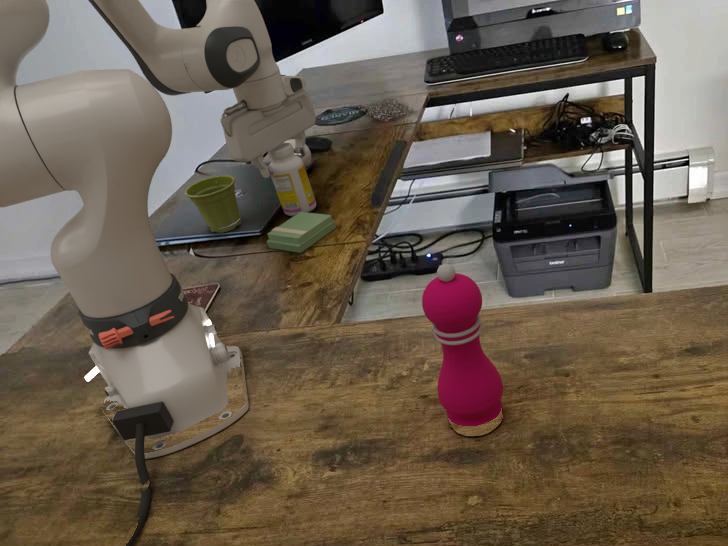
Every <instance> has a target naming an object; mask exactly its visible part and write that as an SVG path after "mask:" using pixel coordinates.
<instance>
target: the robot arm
mask: <svg viewBox="0 0 728 546" xmlns="http://www.w3.org/2000/svg"><path fill="white" fill-rule="evenodd" d="M205 2H206V4H205V5H206V9H205V14H204V16H203V17H202V19H201V20H200V21H199V23H197V24H196V26H195V27H194V26H193V27H187V28H176V29H175V28H169V27H166V26H163V25H161V24H159V23H158V22H156V21H155V20H154V19H153V18H152V16H151V15H150V13H149V12H148V10H146V8H145V6H144V5H143V4H142V3H141V2H140V0H88V3H90V4H91V6H92V7H93V8H94V9H95V10H96V12H97V13H98V14H99V15H100V17H101V18H102V19H103V20H104V22H105V23H106V24H107V25H108V26H109V28H110V29H111V30H112V31H113V32H114V34H115V35H116V36H117V37H118V39H119V40H120V41H121V43H122V44H124V46H125V47H126V49H128V51H129V53H130V54H131V55H132V57H133V58H134V60H135V61H136V63H137V65H138V67H139V70H140V71H141V72H142V74H143V76H144V77H145V78H144V77H143V76H141V75H140V74H138V73H136V72H135V71H133V70H131V69H127V68H125V69H124V68H123V69H122V68H121V69H120V68H119V69H118V68H117V69H116V68H115V69H113V68H112V69H89V70H80V71H76V72H71V73H67V74H61V75H58V76H55V77H49V78H45V79H42V80H37V81H33V82H29V83H24V84H20V85H19V84H17V76H18V71H19V68H20V66H21V64H22V63H23V60H24V59H25V58H26V57H27V56H28V55H29V54H30V53H31V52H32V51H33V50H34V49H36V47H37V46H38V45H40V43H41V42H42V41H43V40H44V39H45V36H46V35H47V31H48V28H49V25H50V16H51V15H50V9H49V5H48V3H47V0H0V209H1V208H8V207H11V206H15V205H18V204H22V203H26V202H30V201H34V200H37V199H40V198H44V197H47V196H51V195H55V194H58V193H62V192H66V191H69V192H70V191H71V192H72V191H75V192H77V193H78V195H79V196H80V198H81V200H82V203H83V206H82V207H81V208H80V209H79V211H78V212H77V213H75V214H74V215H73V216H72V217H71V218H70V219H69V220H68V221H67V222H66V223H65V224H64V225H63V226H62V227H61V228H60V229H59V230H58V232H57V233H56V234H55V236H54V237H53V240H52V242H51V246H50V259H51V264H52V266H53V267H54V269H55V270H56V273H57V274H58V276H59V278H60V279H61V281H62V282H63V284H64V286H65V287H66V290H68V292H69V294H70V296H71V297H72V299H73V301H74V302H75V304H76V306H77V308H78V311H77V313H78V316H79V318H80V320H81V324H82V325H83V327H84V329H85V331H86V333H88V334H89V336H90V338H91V340H92V342H93V343H92V345H91V347H90V350H89V351H88V355H89V357H90V358H91V360H92V362H93V363H94V365H95V367H93V368H92V369H91V370H90V371H89V372H88V373H87V374H86V375H85V376H84V379H85V381H86V382H90V381H92V379H93V378H95V377H96V375H97V374H99V373H100V375H101V377H102V379H103V380H104V381H105V383H106V385H107V386H106V387H104V393H105V394H106V397H105V398H104V399H103V400H104V403H105V401H106V400H107V401H109V400H110V402H111V401H113V403H111V404H109V405H108V406H107V407H106V410H110V409H113V408H115V407H116V406H117V405H118V403H119V404H123V406H124V408H126V409H123V410H118V411H116V413H115V415H114V417H113V419H112V422H111V421H110V419H109V418H108V417H107V415H106V414H105V413H104V411H103V410H102V408H101V407H100V409H101V410H102V411H101V412H102V413H103V414H104V416H105V417H106V418H107V420H108V421H109V423H110V424H111V426H112V427H113V428H114V430H115V431H116V432H117V434H118V435H119V436H120V438H121V439H122V441H123V442H124V443H125V444H126V446H127V447H128V448H129V450H130V451H131V453H132V454H133V455H134V459H135V467H136V470H137V475H138V477H139V481H140V485H141V484H142V485H144V484H145V483H147V481H148V480H149V477H150V474H149V471H148V467H147V463H146V460H149V459H154V458H159V457H162V456H166V455H169V454H172V453H175V452H178V451H180V450H183V449H185V448H188V447H190V446H193V445H195V444H197V443H199V442H201V441H203V440H206V439H208V438H209V437H212V436H214V435H215V434H217V433H220V432H221V431H223V430H224V429H226V428H227V427H229V426H231V425H232V424H234V423H235V422H236V421H238V420H239V419H240V418H241V417H242V416H244V414H246V412H248V410H249V407H250V405H249V396H248V395H249V394H248V388H247V380H246V379H247V378H246V374H245V364H244V357H243V356H244V355H243V352H242V350H241V349H240V347H239V346H236V345H226V344H225V343H223V342H221V340H220V338H219V336H218V335H217V334H218V330H217V327H216V325H215V324H214V323H212V321H211V319H210V318H209V316H208V315H207V312H206V310H205V308H204V307H201V306H198V305H196V304H195V305H194V304H192V303H190V302H189V301H188V298H187V296H186V294H185V291H184V287H183V286H182V284H181V283H180V282H179V280H178V279H177V277H176V276H175V275H174V274H173V273H172V272H170V270H169V268H168V266H167V264H166V262H165V259H164V256H163V255H162V253H161V250H160V248H159V245H158V243H157V240H156V237H155V235H154V232H153V229H152V226H151V223H150V218H149V207H148V201H149V194H150V187H151V184H152V181H153V178H154V175H155V173H156V171H157V169H158V168H159V166H160V164H161V163H162V161H163V160H164V159H165V158H166V156H167V154H168V151H169V150H170V147H171V143H172V138H173V124H172V122H173V121H172V118H171V114H170V111H169V108H168V106H167V104H166V102H165V100H164V98H163V97H162V95H161V94H160V93H162V94H164V95H166V96H174V97H175V96H180V95H185V94H191V93H203V92H204V93H205V92H214V91H228V90H232V91H233V94H234V96H235V100H236V103H234V105H232V106H228V107H226V108H225V109H224V110H223V113H222V114H221V117H220V124H221V127H222V129H223V130H222V131H223V135H224V139H225V143H226V147H227V149H228V150H227V151H228V153H229V156H230V158H231V159H232V160H234V161H235V162H239V163H249V162H251V164H252V165H253V166H255V167H256V168H257V169H258V170H259V173H260V176H261V177H262V178H264V179H269V178H271V176H272V175H273V171H272V167H271V166H269V165H267V164H266V163H265V162H263V161H264V160H265V158H264V154H265V153H268V151H269V150H271V149H272V148H274V147H276V146H278V145H280V144H281V143H284V142H285V141H287V140H290V139H295V148H294V153H295V156H298V157H300V158H302V157H304V156H305V155H306V151H305V148H304V146H305V144H306V138H307V134H306V132H305V131H306V130H309V129H310V128H312V127H314V126H316V121H317V115H316V111H315V108H314V104H313V101H312V99H311V96H310V94H309V92H308V90H306V89H305V88H306V86H307V85H306V81H305V78H304V76H301V75H300V76H299V75H286V74H282V73H281V70H280V68H279V67H280V66H278V64H277V62H276V60H275V57H274V55H273V49H272V48H273V47H272V45H273V44H272V42H271V37H270V35H269V32H268V28H267V26H266V24H265V20H264V18H263V15H262V13H261V11H260V9H259V7H258V5H257V3H256V1H255V0H205ZM159 92H160V93H159ZM231 352H232V353H231ZM240 357H241V359H240ZM240 362H241V365H242V373H243V382H244V390H245V399H246V403H245V405H244V406H243V407H242V408H241V409H240V410H239V411H238V412H237V413H236V414H234V415H233V416H232V417H230V416H231V414H232V412H231V411H225V412H222V413H221V414H220V415H219V417H218V418H219V419H226V418H228V417H230V418H229V419H227V420H226V421H224V422H223V423H221V424H219V425H218V426H216V427H214V428H212V429H210V430H208V431H206V432H204V433H202V434H200V435H198V436H196V437H194V438H192V439H189V440H187V441H185V442H182V443H180V444H177V445H174V446H172V447H169V448H166V449H162V450H159V451H155V452H150V453H144V443H145V437H147V438H148V439H157V438H161V437H164V436H167V435H170V434H173V433H176V432H178V431H181V430H183V429H186V428H188V427H190V426H192V425H194V424H196V423H198V422H200V421H202V420H204V419H206V418H208V417H210V416H212V415H214V414H215V413H217V412H218V411H221V410H222V409H223V408H225V407H226V405H227V404H228V396H227V386H226V380H227V372H229V373H231V368H235V369H236V366H237V367H240ZM234 387H238V385H235V386H234ZM237 396H239V395H237ZM103 400H102V401H101V403H102V402H103ZM114 401H117V402H114ZM113 424H114V425H113ZM131 439H135V452H134V451H133V450H132V449H131V448H130V446H129V445H128V444H127V442H126V440H131ZM165 445H166V441H165V440H161V441H158V442H156V443H155V444H154V445H153V447H152V449H154V450H158V449H161V448H162V447H164V446H165ZM140 489H141V490H140V504H139V507H138V511H137V514H136V516H135V518H134V520H133V522H134V521H135V519H136V518H137V517H139V520H138V525H137V528H136V530H135V532H134V534H133V536H132V537H131V539H130V540H129V542H128V543H127V544H126V546H132V545H133V544H134V542H135V541H136V539H137V538H138V535H139V534H140V531H141V530H142V527H143V525H144V523H145V521H146V519H147V516H148V514H149V510H150V507H151V499H152V482H151V481H150V484H149V486H148V488H147V489H146V490H145V491H142V488H140ZM126 536H127V534H126ZM126 536H125V537H126Z"/></svg>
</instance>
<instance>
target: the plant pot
mask: <svg viewBox="0 0 728 546" xmlns="http://www.w3.org/2000/svg"><path fill="white" fill-rule="evenodd" d="M235 183H236V179H235V177H234V176H232V175H229V174H228V175H226V174H224V175H223V174H222V175H215V176H211V177H210V176H209V177H207V178H204V179H201V180H199V181H196V182H194V183H192V184H190V185H189V186H188V187H187V188H186V189H185V191H184V194H185V196H186V197H188V198H189V199H190V201H191V202H192V203H193V204H194V206H195V207H196V208H197V210H198V212H199V213H200V215H201V217H202V218H203V220H204V221H205V223H206V225H207V227H208V228H209V227H210V228H216V229H210V228H209V230H210V231H211V233H218V234H223V233H227V232H232V231H233V230H235V229H236V227H237V226H241V224H242V218H241V219H240V220H239V221H238V222H237V223H236V224H234V225H232V226H230V227H227V228H223V229H217V228H222V227H226V226H228V225H230V224H232V223H234V222H236V221H237V220H238V219H239V218H240V217H241V213H240V209H239V205H238V201H237V195H236V192H235V191H236V187H235Z"/></svg>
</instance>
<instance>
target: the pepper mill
mask: <svg viewBox="0 0 728 546" xmlns="http://www.w3.org/2000/svg"><path fill="white" fill-rule="evenodd" d="M436 275H437V276H436V277H435V278H433V279H432V280H430V281H429V282H428V284H427V285H426V287H425V289H424V290H423V292H422V297H421V305H422V311H423V313H424V315H425V317H426V319H427V320H428V321H429V322H430V323H432V324H431V328H432V331H433V337H434V338H435V340H436V341H437V342H439V343H440V344H441V348H442V352H443V353H442V354H443V355H442V362H441V367H440V371H439V373H438V379H437V386H436V387H437V398H438V401H439V403H440V405H441V407H442V408H443V409H444V410H445V411H446V416H447V419H448V418H449V419H450V420H451V422H453V423H455V424H457V425H462V426H478V425H481V424H484V423H486V422H489V421H491V420H493V419H494V418H496V417H497V416H498V415H499V413H500V411H501V408H503V404H502V401H501V400H502V397H503V395H504V383H503V380H502V377H501V374H500V372H499V370H498V368H497V367H496V365H494V363H493V362H492V361H491V360H490V358H489V357H488V356H487V355H486V354H485V352H484V350H483V348H482V345H481V340H480V334H481V333H482V331H483V324H482V322H481V321H482V318H481V315H480V312H481V311H482V308H483V295H482V292H481V289H480V287H479V285H478V284H477V283H476V281H474V280H473V279H472V278H471V277H469V276H467V275H466V274H462V273H459V272H458V273H457V272H456V269H455V267H454V266H453V265H452V264H450V263H442V264H440V265H439V266H438V268H437V270H436ZM502 414H503V417H504V411H503V412H502ZM501 418H502V417H501Z"/></svg>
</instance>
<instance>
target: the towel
mask: <svg viewBox="0 0 728 546" xmlns="http://www.w3.org/2000/svg"><path fill="white" fill-rule="evenodd" d="M335 229H337V225H336V221H335V220H334V219H333V216H332V215H331V214H324V213H315V212H300V213H298V214H297V215H295V216H291V218H289V219H287V220H286V221H284V222H283V223H281V224H280V225H278V226H275V227H274V228H272V229H271V231H270V232H267V237H268V240H266V244H267V247H268V249H274V250H280V251H284V252H285V251H286V252H291V253H299V254H302V253H303V252H305V251H307V249H309V248H310V247H312V246H313V245H315V244H316V243H317V242H318V241H320V240H321V239H323V238H324V237H325V236H327V235H328V234H330V233H331V232H332V231H334V230H335Z"/></svg>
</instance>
